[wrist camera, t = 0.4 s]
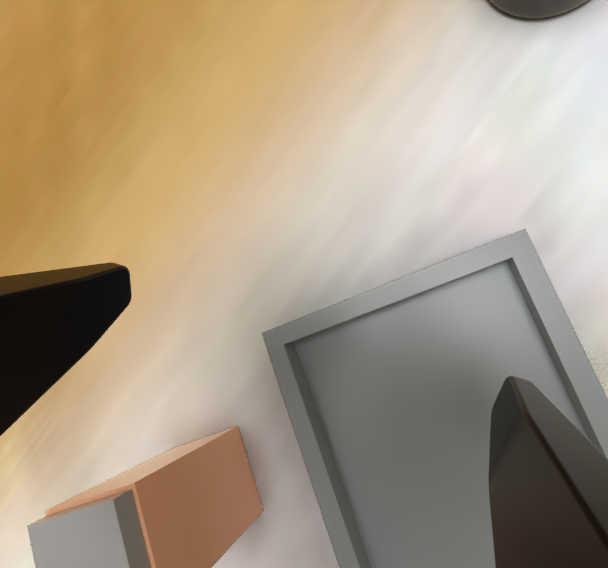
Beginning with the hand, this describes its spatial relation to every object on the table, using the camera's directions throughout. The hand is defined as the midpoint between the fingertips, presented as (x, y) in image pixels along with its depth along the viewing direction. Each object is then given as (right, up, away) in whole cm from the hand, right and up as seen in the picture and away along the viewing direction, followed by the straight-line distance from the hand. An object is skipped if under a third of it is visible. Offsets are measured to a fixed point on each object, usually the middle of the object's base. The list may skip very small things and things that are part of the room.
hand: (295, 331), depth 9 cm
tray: (+8, -8, +12) cm, 16 cm away
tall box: (-5, -11, +16) cm, 20 cm away
